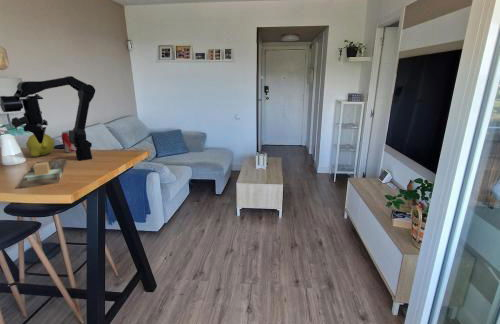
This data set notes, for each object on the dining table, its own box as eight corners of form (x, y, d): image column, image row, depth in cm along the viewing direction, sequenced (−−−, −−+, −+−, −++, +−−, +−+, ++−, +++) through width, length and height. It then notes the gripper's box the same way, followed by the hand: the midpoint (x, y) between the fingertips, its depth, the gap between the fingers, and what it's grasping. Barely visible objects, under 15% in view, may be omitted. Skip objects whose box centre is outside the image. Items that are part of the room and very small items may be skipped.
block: (50, 170, 120) (48, 161, 118) (48, 173, 116) (46, 164, 115) (37, 172, 118) (35, 163, 116) (35, 175, 114) (33, 166, 113)
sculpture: (25, 151, 157) (30, 128, 156) (51, 156, 164) (57, 134, 164) (21, 156, 145) (27, 132, 144) (50, 161, 152) (56, 138, 151)
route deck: (66, 163, 139) (64, 154, 138) (58, 182, 112) (55, 172, 111) (38, 166, 134) (35, 158, 133) (21, 188, 107) (18, 177, 105)
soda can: (68, 153, 157) (64, 133, 154) (62, 152, 161) (58, 132, 158) (81, 151, 163) (77, 131, 160) (75, 149, 167) (71, 130, 163)
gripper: (15, 109, 129) (24, 141, 134) (3, 113, 113) (14, 149, 118) (44, 107, 134) (51, 139, 139) (36, 111, 118) (45, 146, 123)
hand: (40, 143), depth 130 cm, fingers closed
